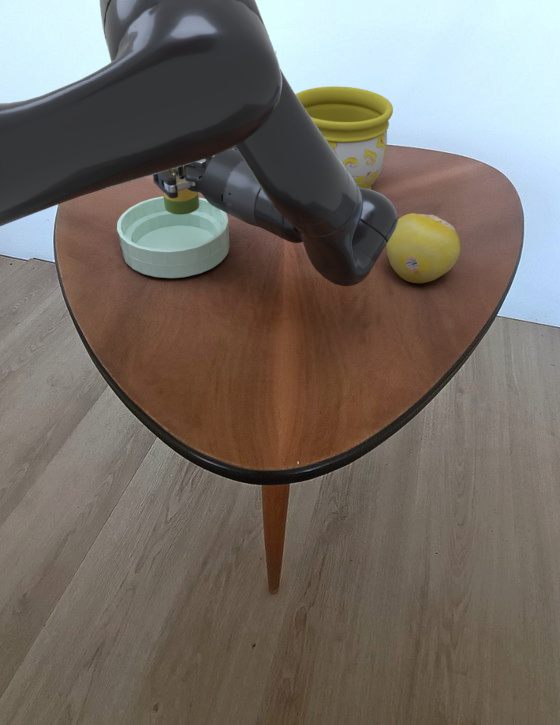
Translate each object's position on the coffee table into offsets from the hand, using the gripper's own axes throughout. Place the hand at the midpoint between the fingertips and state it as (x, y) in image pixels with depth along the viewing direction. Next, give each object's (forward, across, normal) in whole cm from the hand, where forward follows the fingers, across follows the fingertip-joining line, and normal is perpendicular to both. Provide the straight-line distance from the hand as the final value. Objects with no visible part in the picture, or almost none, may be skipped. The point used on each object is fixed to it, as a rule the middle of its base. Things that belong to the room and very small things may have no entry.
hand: (163, 150), depth 77 cm
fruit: (-30, -23, +18) cm, 42 cm away
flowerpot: (-4, -35, +18) cm, 39 cm away
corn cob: (-3, 0, +8) cm, 8 cm away
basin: (+2, -1, +18) cm, 18 cm away
